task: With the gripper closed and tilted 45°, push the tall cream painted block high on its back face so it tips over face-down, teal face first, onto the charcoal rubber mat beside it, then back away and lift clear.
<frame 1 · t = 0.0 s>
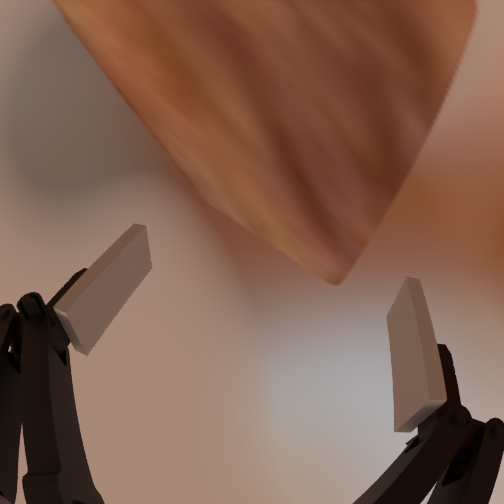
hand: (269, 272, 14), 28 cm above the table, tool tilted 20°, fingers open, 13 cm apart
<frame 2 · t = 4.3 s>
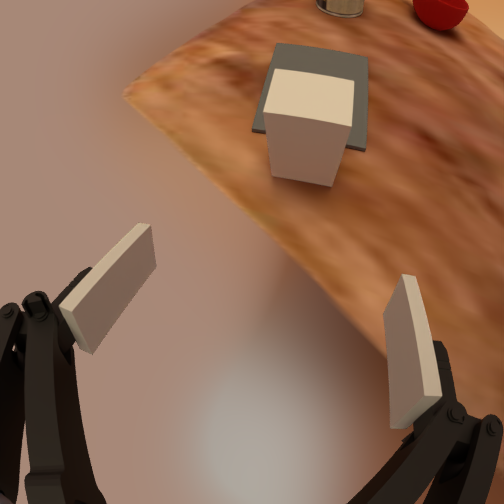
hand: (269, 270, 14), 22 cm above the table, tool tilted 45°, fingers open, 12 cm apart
cream block: (305, 161, 38), on the table
coffee can: (339, 7, 45), on the table
charcoal mat: (316, 89, 41), on the table
ceramic cup: (425, 18, 43), on the table
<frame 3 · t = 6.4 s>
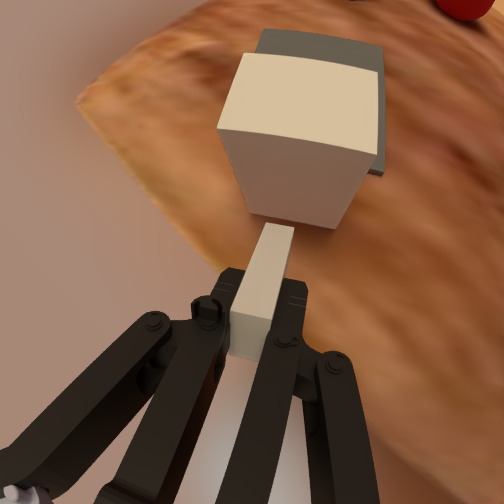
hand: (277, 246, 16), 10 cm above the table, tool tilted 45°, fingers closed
cream block: (298, 191, 28), on the table
charcoal mat: (315, 87, 30), on the table
ceramic cup: (444, 6, 32), on the table
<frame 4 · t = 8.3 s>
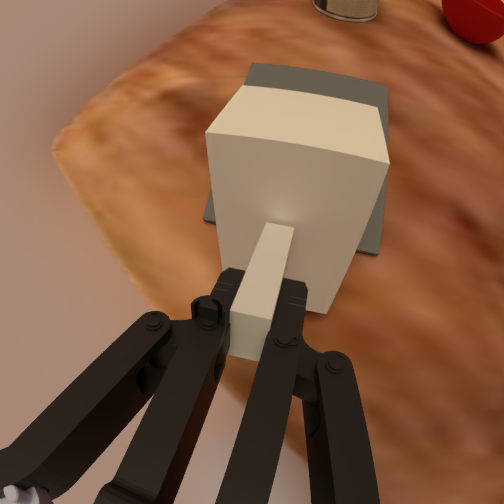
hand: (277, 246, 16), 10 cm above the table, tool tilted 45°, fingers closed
cream block: (283, 272, 25), point 1 cm above the table, tilted 27°, touching charcoal mat, gripper
coffee can: (344, 7, 33), on the table
charcoal mat: (308, 142, 28), on the table
ceramic cup: (455, 25, 30), on the table
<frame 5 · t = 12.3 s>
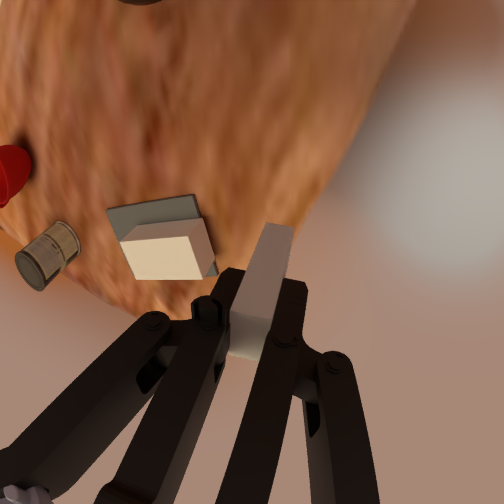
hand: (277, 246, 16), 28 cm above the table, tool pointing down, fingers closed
cream block: (202, 248, 48), point 4 cm above the table, tilted 90°, touching charcoal mat
coffee can: (66, 238, 63), on the table
charcoal mat: (159, 240, 55), on the table
ceramic cup: (24, 167, 54), on the table
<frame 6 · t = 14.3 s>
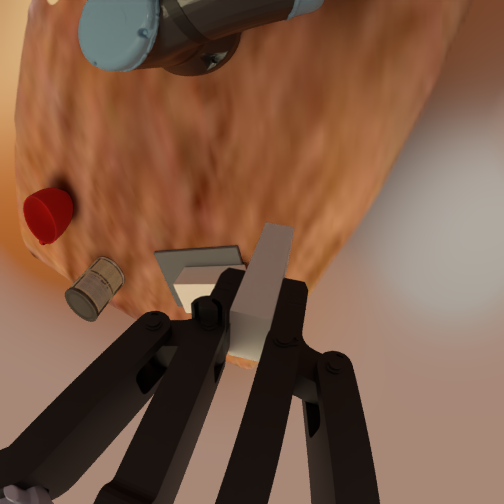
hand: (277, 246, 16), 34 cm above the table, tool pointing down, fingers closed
cream block: (245, 289, 60), point 4 cm above the table, tilted 90°, touching charcoal mat
coffee can: (109, 271, 74), on the table
charcoal mat: (204, 278, 67), on the table
ceramic cup: (64, 207, 66), on the table
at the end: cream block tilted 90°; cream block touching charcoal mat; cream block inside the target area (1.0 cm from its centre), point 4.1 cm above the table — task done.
